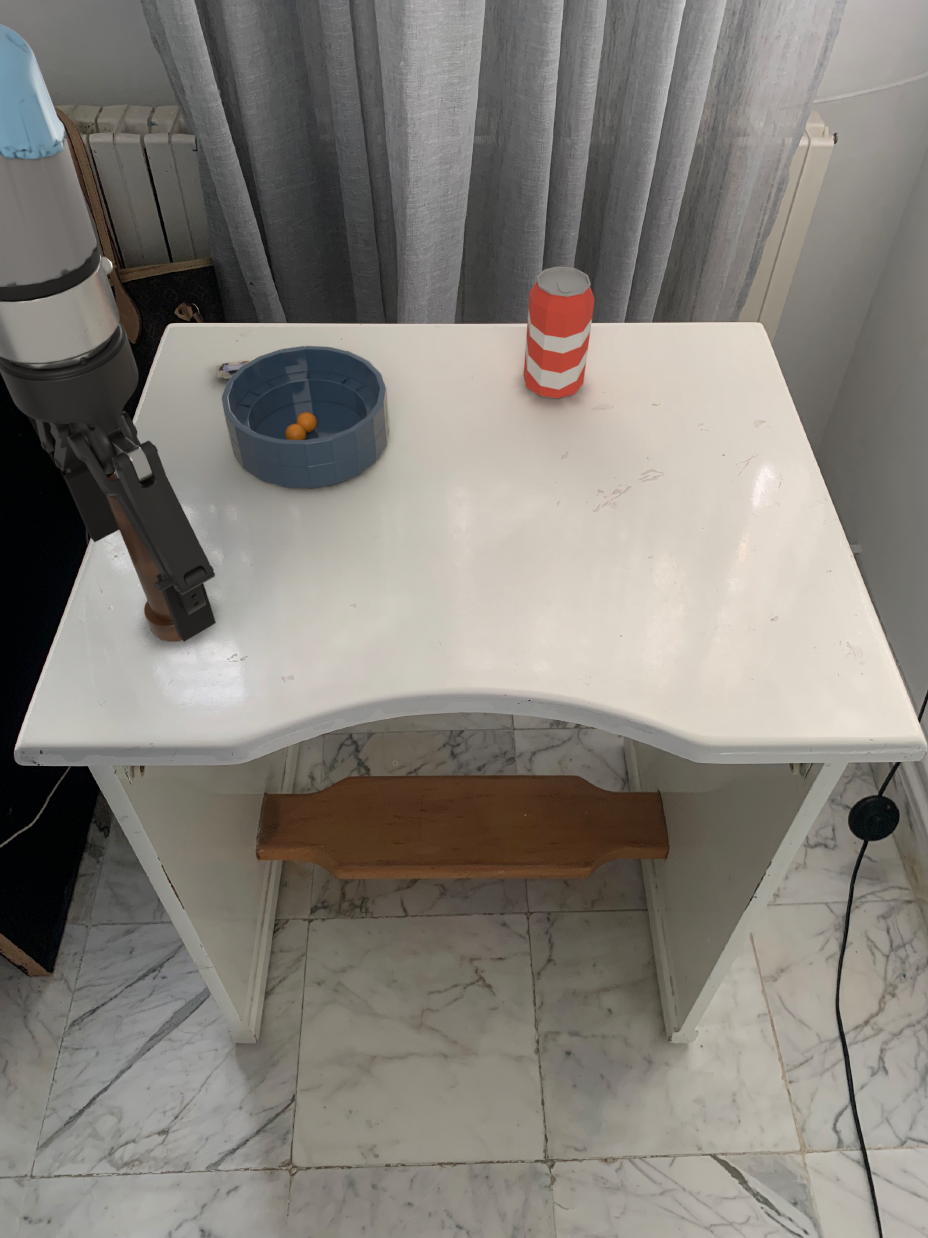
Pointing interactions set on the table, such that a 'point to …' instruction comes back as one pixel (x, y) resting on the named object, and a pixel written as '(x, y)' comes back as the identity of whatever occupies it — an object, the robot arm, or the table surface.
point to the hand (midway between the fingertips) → (150, 578)
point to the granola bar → (229, 369)
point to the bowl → (322, 386)
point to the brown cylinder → (145, 576)
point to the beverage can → (558, 332)
